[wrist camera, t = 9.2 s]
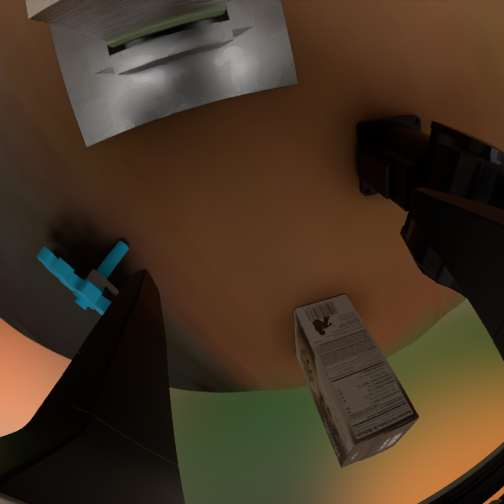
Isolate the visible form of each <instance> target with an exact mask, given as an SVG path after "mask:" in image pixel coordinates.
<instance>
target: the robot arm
mask: <svg viewBox="0 0 504 504" xmlns="http://www.w3.org/2000/svg"><path fill="white" fill-rule="evenodd" d="M414 120H415V123H414ZM363 126H365V129H364V130H362V127H363ZM430 128H432V129H431V134H430V136H428V135H426V134H424V133H422V132H420V118H419V117H418V116H415V115H408V116H399V117H391V118H383V119H375V120H368V121H362V122H359V123H358V125H357V136H358V150H357V156H358V176H359V178H360V191H361V193H362V194H363V195H364V196H369V195H373V194H377V193H379V194H381V195H382V196H383V197H385V198H386V199H391V200H392V201H394V202H395V203H396V204H397V205H399V206H400V207H401V208H402V209H404V210H405V211H409V213H408V216H407V219H406V222H405V224H404V226H403V227H402V229H401V232H400V234H401V236H402V238H403V239H404V241H405V243H406V245H407V247H408V249H409V251H410V253H411V254H412V256H413V259H414V261H415V262H416V264H417V266H418V267H419V269H420V270H421V271H422V273H423V274H424V275H426V276H428V277H429V278H431V279H432V280H434V281H435V282H436V283H438V284H440V285H443V286H446V287H449V288H451V289H453V290H455V291H456V292H458V293H460V294H462V295H463V296H464V297H466V298H467V299H468V300H469V302H470V303H471V305H472V306H473V308H474V309H475V311H476V313H477V314H478V316H479V318H480V319H481V321H482V323H483V324H484V326H485V328H486V329H487V331H488V333H489V334H490V336H491V338H492V339H493V342H494V344H495V346H496V347H497V349H498V351H499V353H500V355H501V357H502V359H503V361H504V152H503V151H501V150H500V149H498V148H496V147H495V146H493V145H491V144H489V143H487V142H485V141H483V140H480V139H478V138H476V137H474V136H472V135H469V134H467V133H465V132H462V131H460V130H457V129H454V128H452V127H449V126H446V125H444V124H441V123H438V122H435V121H432V122H431V127H430ZM367 188H368V189H367ZM366 189H367V191H365V190H366ZM503 486H504V442H503V443H502V444H501V445H500V446H499V447H497V448H496V449H495V450H494V451H493V452H492V453H490V454H489V455H488V456H487V457H486V458H485V459H483V460H482V461H481V462H479V463H478V464H477V465H475V466H474V467H473V468H471V469H470V470H469V471H467V472H466V473H465V474H463V475H462V476H460V477H459V478H458V479H456V480H455V481H453V482H452V483H450V484H449V485H447V486H446V487H444V488H443V489H441V490H440V491H438V492H436V493H435V494H433V495H431V496H430V497H428V498H427V499H425V500H423V501H421V502H420V503H418V504H483V503H484V502H485V501H487V500H488V499H489V498H490V497H492V496H493V495H494V494H495V493H496V492H497V491H499V490H500V489H501V488H502V487H503ZM0 504H185V501H184V495H183V490H182V484H181V478H180V472H179V467H178V460H177V453H176V446H175V438H174V430H173V421H172V411H171V401H170V391H169V377H168V363H167V345H166V334H165V327H164V321H163V314H162V308H161V301H160V294H159V291H158V288H157V286H156V284H155V282H154V281H153V279H152V277H151V275H150V273H149V272H148V270H146V269H142V270H139V271H136V272H134V273H133V274H132V275H131V277H130V278H129V279H128V281H127V282H126V283H125V285H124V286H123V287H122V289H121V290H120V291H119V293H118V294H117V296H116V297H115V298H114V300H113V301H112V302H111V304H110V305H109V307H108V308H107V309H106V311H105V312H104V314H103V315H102V316H101V318H100V319H99V321H98V322H97V324H96V325H95V327H94V328H93V329H92V331H91V332H90V334H89V335H88V337H87V338H86V340H85V341H84V343H83V344H82V346H81V347H80V349H79V350H78V353H76V355H75V356H74V358H73V360H72V361H71V363H70V364H69V366H68V367H67V369H66V370H65V372H64V373H63V375H62V376H61V378H60V379H59V381H58V382H57V383H56V385H55V386H54V388H53V389H52V390H51V392H50V393H49V395H48V396H47V397H46V399H45V400H44V402H43V403H42V405H41V406H40V407H39V409H38V410H37V412H36V413H35V415H34V416H33V418H32V419H31V420H30V421H29V422H28V424H26V425H25V426H24V427H23V428H21V429H20V430H18V431H16V432H14V433H11V434H8V435H5V436H2V437H0ZM489 504H504V494H503V495H502V496H501V497H500V498H499V499H497V500H494V501H491V502H490V503H489Z"/></svg>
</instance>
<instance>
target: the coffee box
mask: <svg viewBox="0 0 504 504" xmlns="http://www.w3.org/2000/svg"><path fill="white" fill-rule="evenodd" d="M294 328H295V345H296V357H297V359H298V362H299V364H300V367H301V369H302V372H303V374H304V376H305V379H306V381H307V384H308V386H309V389H310V391H311V394H312V396H313V399H314V401H315V404H316V406H317V409H318V412H319V414H320V416H321V419H322V421H323V424H324V426H325V429H326V431H327V434H328V436H329V439H330V441H331V444H332V446H333V448H334V451H335V453H336V456H337V458H338V461H339V463H340V466H341V468H342V467H344V466H347V465H350V464H352V463H354V462H357V461H361V460H363V459H366V458H369V457H372V456H374V455H376V454H378V453H380V452H382V451H384V450H386V449H389V448H390V447H392V446H394V445H395V444H396V443H397V442H398V441H399V440H400V438H401V437H402V436H403V435H404V434H405V433H406V432H407V431H408V430H409V429H410V428H411V427H412V425H413V424H414V423H415V422H416V421H417V419H418V418H419V415H418V414H417V412H416V411H415V409H414V407H413V405H412V403H411V401H410V400H409V398H408V396H407V394H406V393H405V391H404V389H403V387H402V386H401V384H400V382H399V380H398V379H397V377H396V375H395V373H394V372H393V370H392V368H391V366H390V365H389V363H388V361H387V360H386V358H385V356H384V355H383V353H382V351H381V350H380V348H379V346H378V345H377V343H376V341H375V340H374V338H373V336H372V335H371V333H370V332H369V330H368V328H367V327H366V325H365V323H364V322H363V320H362V319H361V317H360V315H359V314H358V312H357V311H356V309H355V307H354V306H353V304H352V303H351V301H350V300H349V298H348V297H347V295H346V294H343V295H340V296H337V297H333V298H330V299H327V300H323V301H320V302H317V303H313V304H309V305H306V306H302V307H299V308H296V309H294Z"/></svg>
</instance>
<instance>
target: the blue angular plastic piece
mask: <svg viewBox="0 0 504 504" xmlns="http://www.w3.org/2000/svg"><path fill="white" fill-rule="evenodd" d="M128 250H129V247H128V246H127V245H126V244H125V243H124V242H122V241H119V242H118V243H117V244H116V246H115V247H114V248H113V249H112V251H111V252H110V253H109V255H108V256H107V257H106V259H105V260H104V261H103V263H102V264H101V265H100V267H99V268H98V269H97V271H96V270H94V269H92V271H91V272H90V274H89V275H88V276H87V278H86V279H85V281H84V280H82V279H81V278H79V277H78V276H77V275H76V274H75V273H74V270H73V268H71V267H70V266H69V265H68V264H67V263H66V262H65V261H63V260H62V259H61V258H59V259H57V257H56V256H55V255H54V254H53V253H52V252H51V251H50V250H48V249H47V248H46V247H43V249H42V250H41V251H40V253H39V254H38V255H37V258H38V259H39V260H40V261H41V262H42V263H43V264H44V265H45V267H46V268H47V269H48V270H49V271H51V272H52V273H53V274H54V275H55V276H56V277H58V278H59V280H60V281H61V282H62V283H63V284H64V285H65V286H67V287H68V288H69V289H70V290H72V291H73V294H75V295H76V296H77V299H76V300H75V302H76V303H77V304H79V305H80V306H81V307H82V308H84V309H86V308H87V307H88V306H89V307H90V308H92V309H93V310H94V309H96V310H97V312H98V313H100V314H101V315H103V314H104V312H105V311H106V309H107V308H108V307H109V305H110V304H111V301H109V300H108V299H106V298H105V297H103V296H102V295H101V294H102V292H103V290H104V289H106V290H107V291H108V292H109V293H110V294H111V295H112V296H113V297H114V298H115V297H116V296H117V294H118V293H119V291H118V290H117V289H116V288H115V287H114V286H113V285H112V284H111V283H110V282H109V281H108V280H107V278H108V276H109V275H110V274H111V272H112V271H113V270H114V268H115V267H116V265H117V264H118V263H119V261H120V260H121V259H122V257H123V256H124V255H125V253H126V252H127V251H128Z"/></svg>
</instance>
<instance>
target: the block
mask: <svg viewBox="0 0 504 504" xmlns="http://www.w3.org/2000/svg"><path fill="white" fill-rule="evenodd" d="M227 1H228V0H26V6H27V12H28V17H29V19H32V20H37V21H41V22H45V23H49V24H52V25H56V26H60V27H63V28H66V29H70V30H73V31H76V32H80V33H83V34H86V35H89V36H92V37H95V38H98V39H100V40H103V41H105V42H106V45H107V46H110V47H115V46H122V45H124V44H127V43H129V42H132V41H135V40H138V39H140V38H143V37H146V36H149V35H152V34H155V33H158V32H161V31H165V30H168V29H171V28H175V27H179V26H182V25H186V24H190V23H194V22H198V21H202V20H207V19H211V18H216V17H217V16H219V15H222V14H223V13H224V12H225V10H226V7H225V4H226V3H227Z"/></svg>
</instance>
